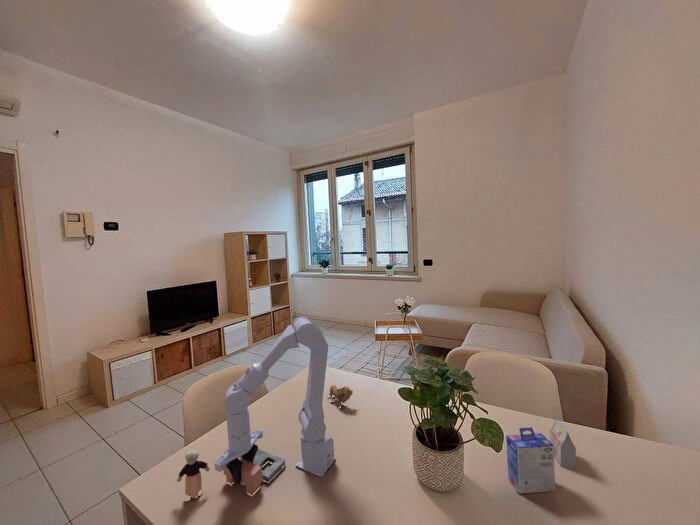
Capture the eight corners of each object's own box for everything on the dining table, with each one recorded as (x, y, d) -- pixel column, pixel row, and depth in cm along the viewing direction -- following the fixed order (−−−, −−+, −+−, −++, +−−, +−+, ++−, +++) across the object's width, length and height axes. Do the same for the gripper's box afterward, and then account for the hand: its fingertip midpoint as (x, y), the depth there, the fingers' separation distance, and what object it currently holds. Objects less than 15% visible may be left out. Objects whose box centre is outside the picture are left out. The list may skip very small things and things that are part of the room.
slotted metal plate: (285, 466, 85) (285, 459, 85) (268, 484, 79) (268, 477, 79) (247, 450, 93) (247, 444, 93) (229, 465, 87) (229, 459, 86)
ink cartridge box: (541, 474, 78) (540, 423, 77) (556, 491, 72) (556, 437, 71) (505, 476, 78) (505, 426, 77) (518, 494, 72) (517, 440, 71)
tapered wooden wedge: (263, 489, 77) (261, 467, 77) (254, 498, 75) (253, 475, 74) (233, 474, 83) (231, 453, 83) (224, 482, 80) (222, 460, 80)
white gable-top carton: (564, 451, 86) (564, 419, 85) (575, 468, 79) (575, 434, 79) (550, 449, 87) (550, 418, 86) (560, 466, 80) (560, 432, 80)
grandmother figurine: (179, 508, 73) (175, 461, 72) (178, 498, 76) (174, 453, 75) (212, 492, 77) (208, 447, 76) (209, 482, 80) (206, 440, 80)
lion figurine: (355, 407, 114) (354, 386, 114) (346, 413, 110) (344, 391, 110) (331, 395, 124) (329, 375, 124) (321, 400, 121) (320, 380, 120)
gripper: (249, 412, 86) (252, 455, 87) (205, 442, 73) (209, 492, 74) (266, 418, 83) (269, 462, 84) (223, 451, 70) (227, 502, 71)
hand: (242, 477), depth 79 cm, fingers closed on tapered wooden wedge, 3 cm apart
